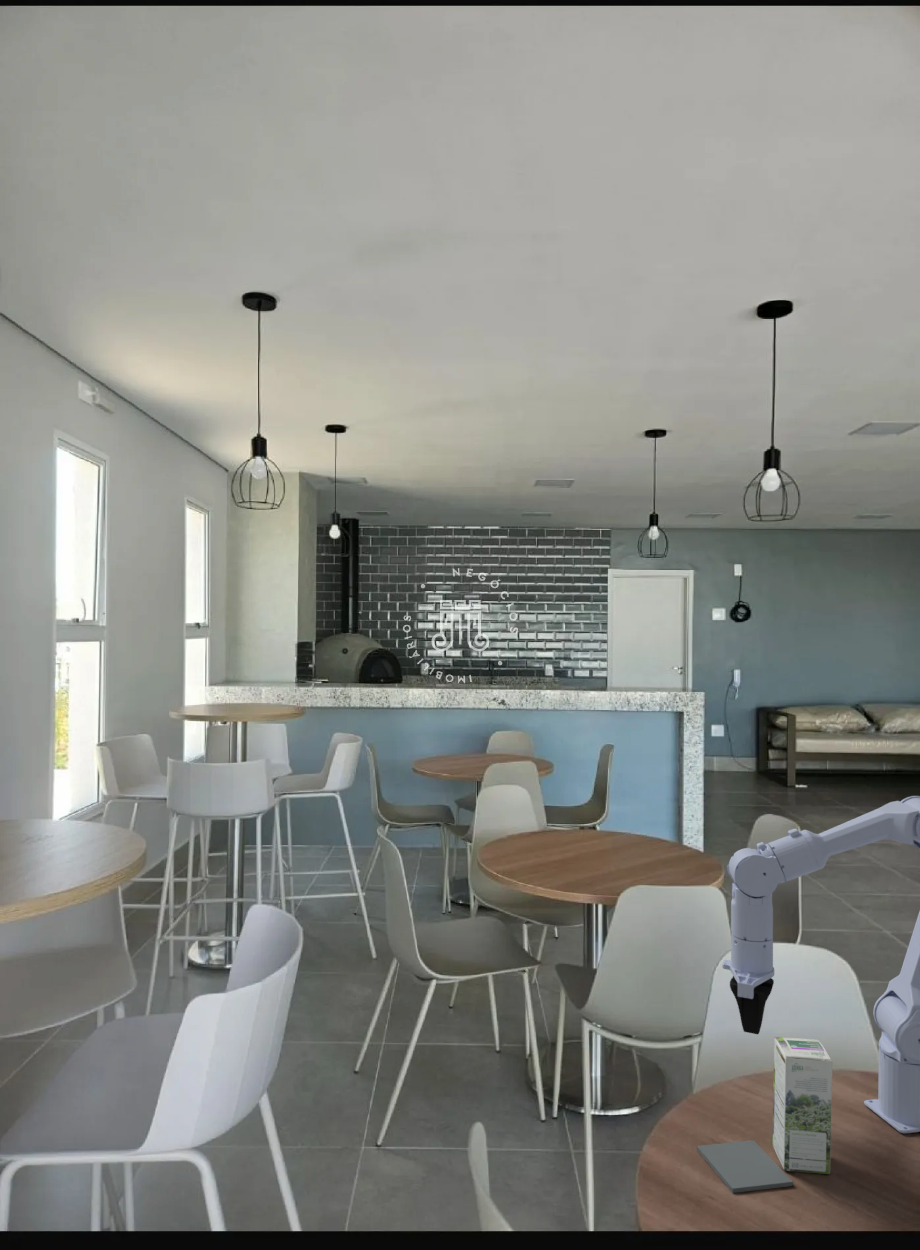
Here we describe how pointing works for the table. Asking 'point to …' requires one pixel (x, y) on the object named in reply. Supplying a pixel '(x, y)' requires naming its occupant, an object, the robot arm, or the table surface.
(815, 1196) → the table surface
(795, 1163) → the syrup box
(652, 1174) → the table surface
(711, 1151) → the pad
